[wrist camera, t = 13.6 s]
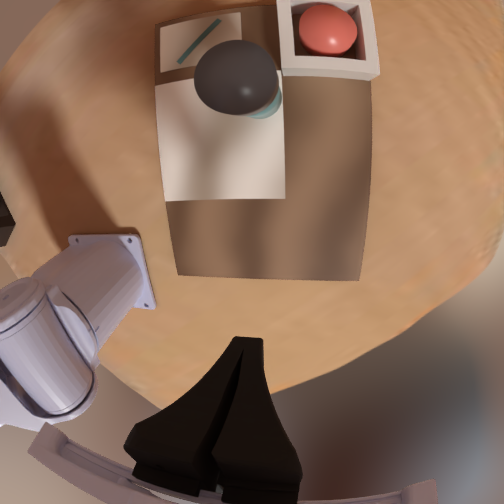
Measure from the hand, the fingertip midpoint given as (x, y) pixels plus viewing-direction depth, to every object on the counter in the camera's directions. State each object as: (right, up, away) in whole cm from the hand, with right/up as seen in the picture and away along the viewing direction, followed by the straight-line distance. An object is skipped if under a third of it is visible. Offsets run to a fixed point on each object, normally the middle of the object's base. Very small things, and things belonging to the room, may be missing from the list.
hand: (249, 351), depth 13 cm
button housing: (+5, +19, +1) cm, 20 cm away
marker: (+1, +15, +3) cm, 15 cm away
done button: (+5, +19, 0) cm, 19 cm away
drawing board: (+1, +13, +5) cm, 14 cm away
